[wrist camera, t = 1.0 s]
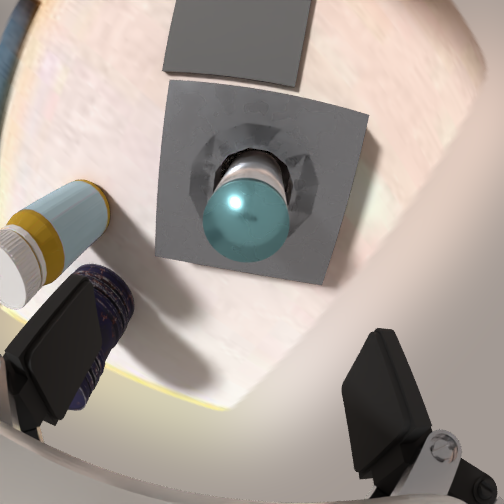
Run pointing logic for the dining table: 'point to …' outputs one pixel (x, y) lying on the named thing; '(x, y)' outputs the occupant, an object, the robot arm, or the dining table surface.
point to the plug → (248, 209)
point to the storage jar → (104, 322)
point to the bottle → (49, 239)
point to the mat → (238, 38)
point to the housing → (263, 138)
